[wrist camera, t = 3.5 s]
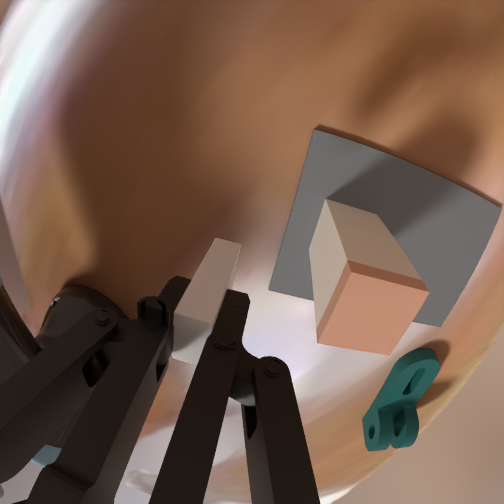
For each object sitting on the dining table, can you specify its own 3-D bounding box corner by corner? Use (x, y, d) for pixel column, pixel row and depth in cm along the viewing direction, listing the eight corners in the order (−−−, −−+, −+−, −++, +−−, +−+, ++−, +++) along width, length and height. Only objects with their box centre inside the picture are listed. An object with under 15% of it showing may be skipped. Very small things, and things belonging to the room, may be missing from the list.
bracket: (396, 416, 40) (403, 453, 33) (362, 418, 40) (366, 457, 33) (442, 346, 31) (461, 389, 24) (401, 347, 32) (417, 395, 25)
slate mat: (268, 287, 29) (268, 290, 29) (313, 128, 22) (314, 129, 21) (438, 324, 29) (440, 326, 29) (499, 207, 22) (502, 209, 21)
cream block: (308, 248, 26) (317, 343, 16) (325, 198, 24) (351, 272, 13) (357, 261, 26) (389, 355, 16) (376, 214, 24) (429, 292, 13)
